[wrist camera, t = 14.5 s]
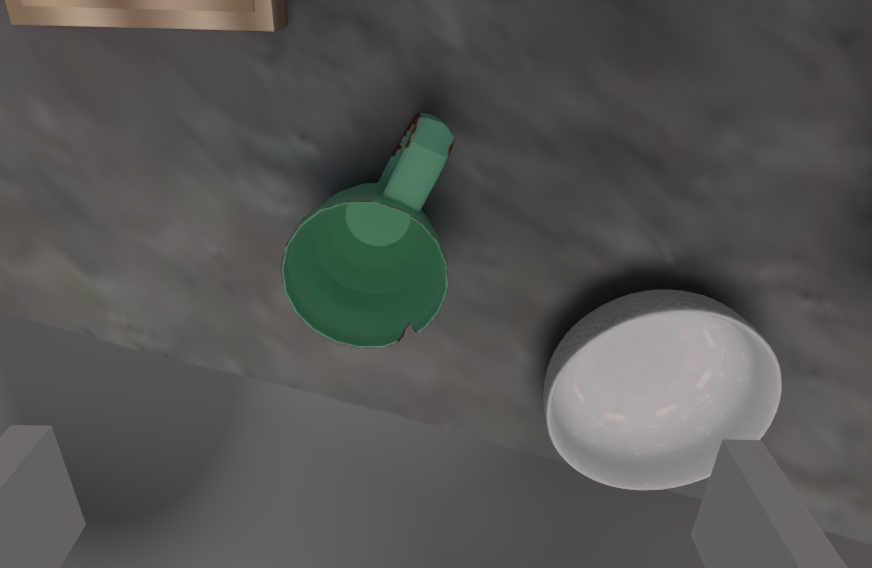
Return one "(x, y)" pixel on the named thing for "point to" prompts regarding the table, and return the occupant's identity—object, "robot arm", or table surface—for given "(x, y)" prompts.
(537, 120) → the table surface
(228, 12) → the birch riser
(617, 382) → the cereal bowl
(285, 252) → the mug
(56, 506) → the robot arm
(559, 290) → the table surface
